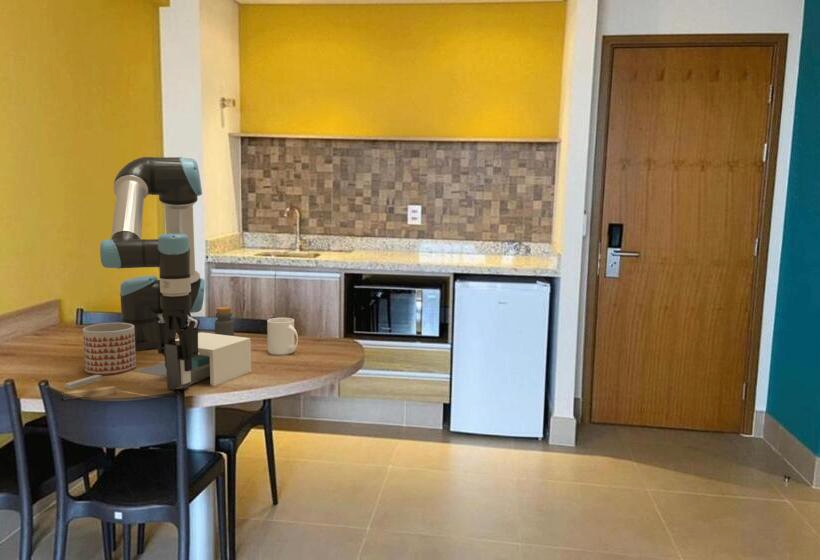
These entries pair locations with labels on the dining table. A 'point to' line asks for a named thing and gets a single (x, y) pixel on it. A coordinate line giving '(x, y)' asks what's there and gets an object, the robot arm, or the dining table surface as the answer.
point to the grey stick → (83, 381)
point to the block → (200, 361)
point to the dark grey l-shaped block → (174, 368)
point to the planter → (109, 348)
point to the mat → (155, 370)
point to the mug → (281, 336)
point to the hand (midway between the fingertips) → (179, 381)
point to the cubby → (225, 355)
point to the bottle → (224, 321)
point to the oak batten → (94, 392)
